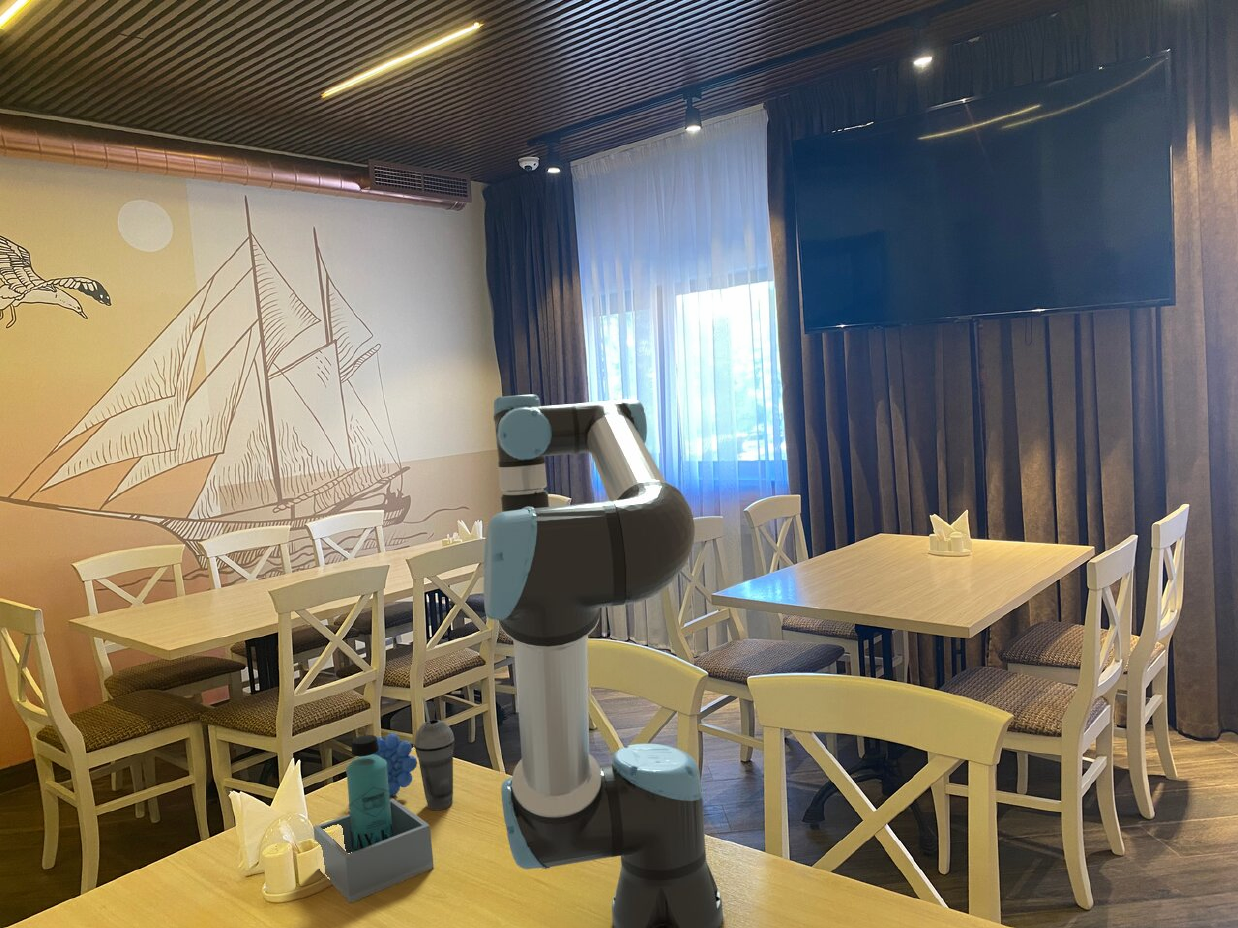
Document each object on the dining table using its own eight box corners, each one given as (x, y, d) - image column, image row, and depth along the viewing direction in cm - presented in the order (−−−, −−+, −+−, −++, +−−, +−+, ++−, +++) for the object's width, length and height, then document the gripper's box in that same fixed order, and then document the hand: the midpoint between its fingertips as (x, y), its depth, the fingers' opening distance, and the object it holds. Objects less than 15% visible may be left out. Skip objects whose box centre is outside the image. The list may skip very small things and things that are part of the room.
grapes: (430, 786, 173) (424, 725, 172) (413, 802, 166) (407, 739, 165) (376, 783, 176) (370, 723, 175) (357, 799, 169) (351, 737, 168)
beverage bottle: (345, 863, 143) (333, 740, 141) (381, 845, 148) (370, 727, 146) (368, 876, 139) (355, 749, 137) (404, 857, 144) (393, 735, 142)
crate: (433, 867, 142) (429, 825, 142) (350, 902, 134) (345, 857, 133) (397, 838, 153) (393, 798, 152) (317, 868, 145) (313, 826, 144)
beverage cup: (456, 812, 161) (446, 702, 159) (415, 814, 161) (405, 705, 160) (463, 793, 168) (454, 689, 167) (425, 796, 168) (415, 691, 167)
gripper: (591, 490, 139) (601, 626, 140) (500, 486, 157) (511, 606, 159) (551, 496, 134) (563, 637, 135) (463, 491, 153) (474, 615, 154)
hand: (535, 621), depth 147 cm, fingers open, 13 cm apart
